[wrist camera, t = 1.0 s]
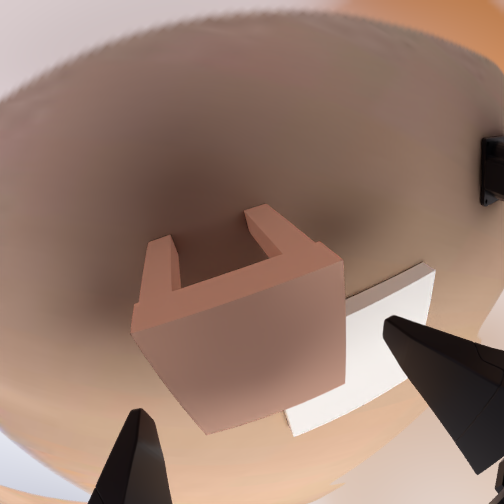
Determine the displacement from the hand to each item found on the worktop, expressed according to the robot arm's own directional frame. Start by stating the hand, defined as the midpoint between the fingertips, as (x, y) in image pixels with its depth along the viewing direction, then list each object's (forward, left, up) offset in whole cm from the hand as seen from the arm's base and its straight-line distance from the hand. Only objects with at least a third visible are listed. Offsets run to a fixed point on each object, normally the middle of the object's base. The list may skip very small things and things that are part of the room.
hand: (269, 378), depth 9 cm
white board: (-8, +12, -7) cm, 16 cm away
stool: (0, 0, -7) cm, 7 cm away
